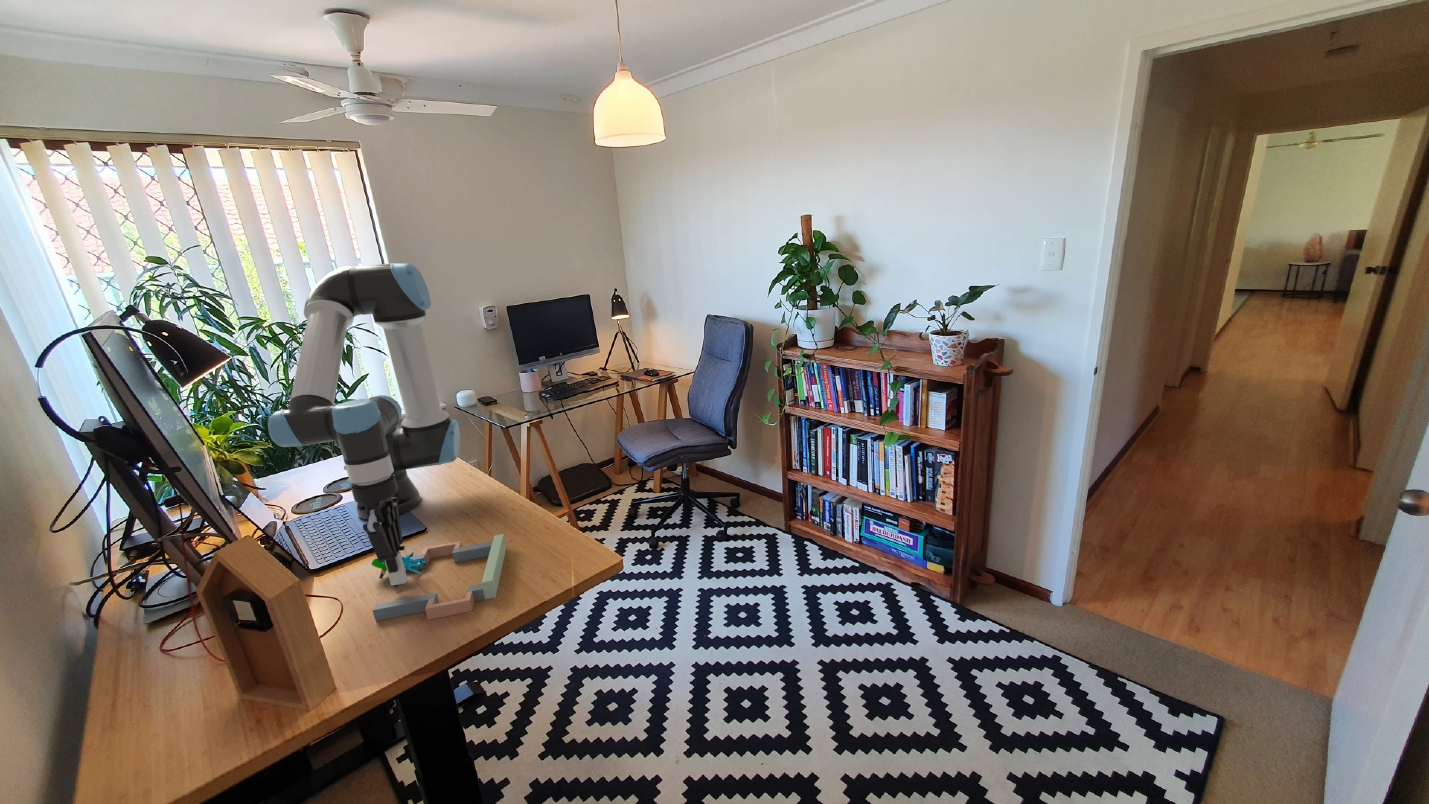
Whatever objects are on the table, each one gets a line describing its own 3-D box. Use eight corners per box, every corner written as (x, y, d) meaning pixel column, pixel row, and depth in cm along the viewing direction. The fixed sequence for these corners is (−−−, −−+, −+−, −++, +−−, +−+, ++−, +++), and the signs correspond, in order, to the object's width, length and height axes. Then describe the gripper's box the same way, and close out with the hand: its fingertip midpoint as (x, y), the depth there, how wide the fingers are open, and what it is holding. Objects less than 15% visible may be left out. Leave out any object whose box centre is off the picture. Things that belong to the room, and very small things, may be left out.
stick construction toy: (435, 562, 120) (413, 545, 115) (423, 592, 116) (400, 577, 110) (387, 567, 122) (363, 551, 117) (374, 597, 118) (349, 583, 112)
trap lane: (407, 560, 125) (403, 545, 124) (507, 542, 130) (504, 527, 129) (370, 631, 102) (365, 613, 101) (493, 606, 107) (490, 589, 106)
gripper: (363, 468, 112) (389, 569, 118) (337, 494, 99) (368, 604, 106) (403, 463, 113) (426, 562, 120) (382, 488, 101) (409, 597, 107)
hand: (399, 582), depth 113 cm, fingers closed
